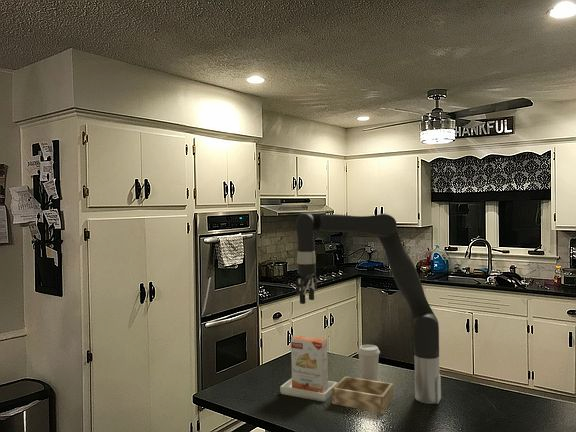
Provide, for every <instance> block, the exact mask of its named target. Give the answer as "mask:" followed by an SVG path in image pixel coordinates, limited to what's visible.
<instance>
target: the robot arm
mask: <svg viewBox="0 0 576 432" xmlns="http://www.w3.org/2000/svg"><path fill="white" fill-rule="evenodd" d="M295 230H296V236H297V237H296V238H297V255H296V257H297V258H296V259H297V260H296V262H297V263H296V264H297V265H296V267H297V275H300V278H296V294H298V295H299V304H300V305H305V304H306V303H307V302H306V293H307V290H308V300H309V301H314V300H315V291H316V289H317V288H318V284H317V283H318V281H317V268H316V267H317V265H316V264H317V262H316V260H317V259H316V258H317V257H316V249H315V248H316V247H315V246H316V244H315V238H314V231H323V232H327V233H328V232H330V233H332V232H334V233H367V234H372V235H376V236H377V237H378V239H379V241H380V243H381V245H382V248H383V249H384V253H385V255H386V260H387V263H388V266H389V268H390V269H389V270H390V272H391V275H392V277H393V280H394V281H395V284H396V286H397V288H398V290H399V291H400V293H401V295H402V296H403V298H404V299H405V301H406V303H407V304H408V307H409V309H410V312H411V315H412V320H413V350H414V397H415V398H414V399H415V400H416V401H417V402H420V403H422V404H423V403H424V404H428V405H430V404H431V405H432V404H434V405H435V404H436V405H438V404H440V401H441V399H442V387H441V386H442V383H441V382H442V381H441V377H442V375H441V374H440V327H439V320H438V318H437V316H436V313H434V310H433V309H432V307H431V306H430V304H429V301H428V299H427V296H426V294H425V291H424V287H423V285H422V281H421V280H420V276H419V274H418V271H417V269H416V267H415V264H414V262H413V260H412V259H411V256H410V254H409V253H408V251H407V250H406V248H405V247H404V245H403V243H402V240H401V237H400V235H399V231H398V228H397V220H396V219H395V218H394V216H393V215H391V214H389V213H384V212H383V213H379V214H376V215H375V214H374V215H365V216H363V215H362V216H359V215H358V216H356V215H347V214H334V213H333V214H332V213H329V214H328V213H326V214H320V213H312V212H311V213H309V212H305V213H301V214H300V215H298V216H297V217H296V219H295Z"/></svg>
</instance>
